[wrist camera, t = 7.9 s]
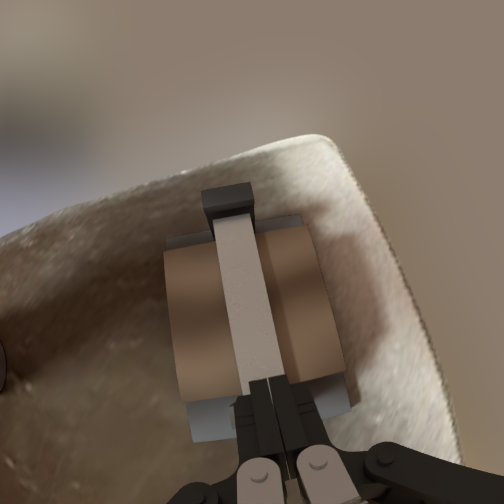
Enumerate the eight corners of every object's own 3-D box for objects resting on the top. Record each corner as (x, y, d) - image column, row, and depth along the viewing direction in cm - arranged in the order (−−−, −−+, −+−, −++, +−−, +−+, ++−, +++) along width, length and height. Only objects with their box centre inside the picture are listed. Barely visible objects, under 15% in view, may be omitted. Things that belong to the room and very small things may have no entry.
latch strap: (291, 413, 19) (293, 415, 18) (249, 421, 19) (248, 423, 18) (249, 218, 25) (249, 211, 24) (214, 225, 25) (212, 218, 24)
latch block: (347, 410, 24) (381, 419, 16) (196, 439, 24) (170, 460, 16) (298, 221, 33) (308, 169, 25) (169, 245, 32) (142, 199, 24)
